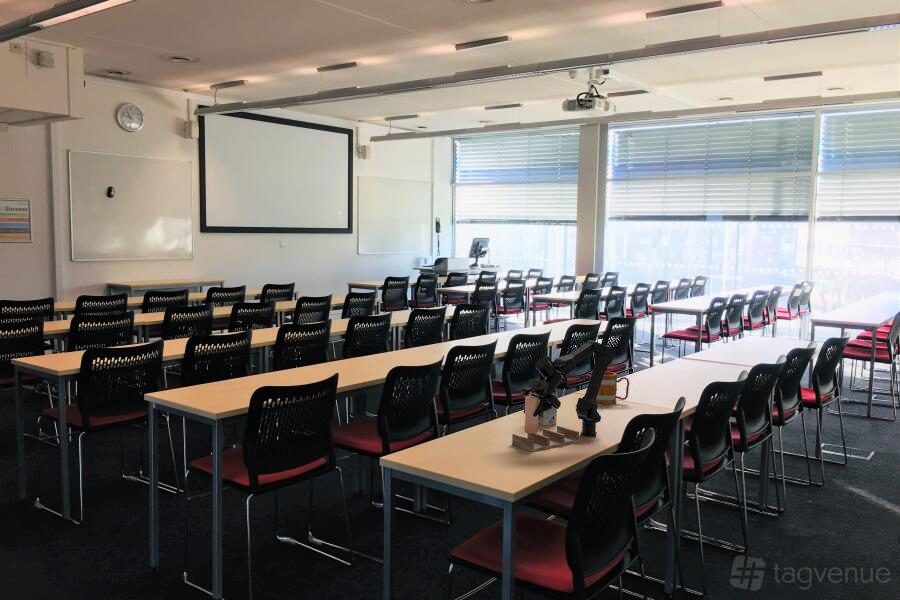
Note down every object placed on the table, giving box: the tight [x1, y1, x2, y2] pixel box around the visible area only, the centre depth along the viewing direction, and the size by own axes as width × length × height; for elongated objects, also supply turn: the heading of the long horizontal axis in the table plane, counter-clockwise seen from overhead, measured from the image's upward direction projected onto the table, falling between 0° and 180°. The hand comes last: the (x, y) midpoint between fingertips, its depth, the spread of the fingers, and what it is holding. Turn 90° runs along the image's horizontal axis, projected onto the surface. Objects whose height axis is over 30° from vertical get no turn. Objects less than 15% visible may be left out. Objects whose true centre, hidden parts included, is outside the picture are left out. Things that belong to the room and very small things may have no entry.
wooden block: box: [524, 396, 539, 434], centre depth 292 cm, size 5×5×14 cm
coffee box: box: [538, 388, 559, 426], centre depth 331 cm, size 9×6×16 cm
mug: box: [590, 370, 630, 406], centre depth 374 cm, size 20×14×15 cm
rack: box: [511, 425, 580, 452], centre depth 298 cm, size 26×12×4 cm, turn 126°
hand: (528, 414), depth 291 cm, fingers closed on wooden block, 5 cm apart
